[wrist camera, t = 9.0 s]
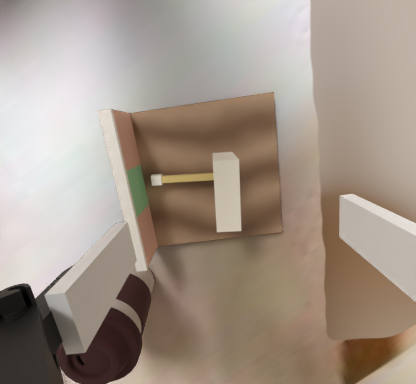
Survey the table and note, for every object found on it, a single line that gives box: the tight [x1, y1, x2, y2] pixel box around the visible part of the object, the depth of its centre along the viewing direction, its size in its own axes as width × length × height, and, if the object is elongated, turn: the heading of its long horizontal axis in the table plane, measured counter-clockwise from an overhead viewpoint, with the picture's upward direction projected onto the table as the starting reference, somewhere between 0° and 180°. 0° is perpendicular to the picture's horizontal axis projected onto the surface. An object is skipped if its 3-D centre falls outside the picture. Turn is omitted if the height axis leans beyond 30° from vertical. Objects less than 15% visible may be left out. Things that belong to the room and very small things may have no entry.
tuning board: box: [130, 92, 282, 246], centre depth 35 cm, size 20×21×1 cm
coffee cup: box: [56, 265, 154, 384], centre depth 33 cm, size 10×10×15 cm
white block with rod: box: [151, 152, 241, 232], centre depth 28 cm, size 11×7×12 cm, turn 94°
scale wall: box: [98, 109, 158, 272], centre depth 31 cm, size 20×1×7 cm, turn 8°
